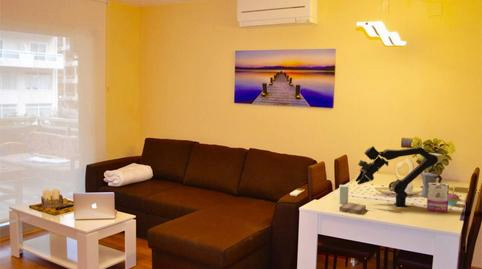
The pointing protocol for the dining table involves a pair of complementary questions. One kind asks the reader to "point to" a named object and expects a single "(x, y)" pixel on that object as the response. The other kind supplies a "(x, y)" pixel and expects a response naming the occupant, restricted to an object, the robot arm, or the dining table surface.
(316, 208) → the dining table surface
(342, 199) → the sage block
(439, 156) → the cocktail glass
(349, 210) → the walnut base
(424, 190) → the coffeepot
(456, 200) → the cupcake
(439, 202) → the candy bar box
